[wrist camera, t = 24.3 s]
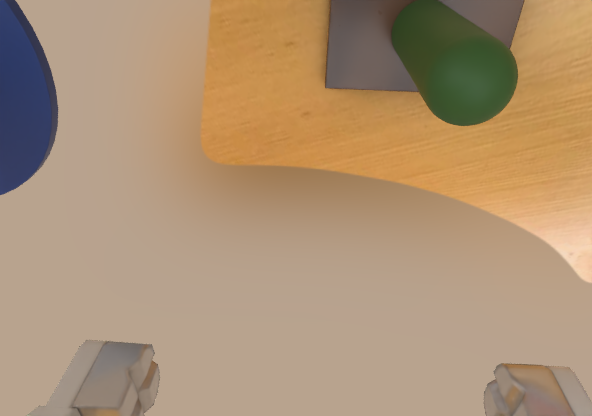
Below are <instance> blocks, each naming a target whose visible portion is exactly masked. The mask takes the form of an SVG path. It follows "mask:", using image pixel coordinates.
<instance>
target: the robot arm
mask: <svg viewBox="0 0 592 416" xmlns="http://www.w3.org/2000/svg"><path fill="white" fill-rule="evenodd" d="M154 354H155V353H154V350H153V346H152V344H138V343H123V342H110V341H97V340H86V341H85V342H84V343H83V344H82V345H81V346H80V347H79V349H78V351H77V352H76V354H75V356H74V358H73V359H72V361H71V363H70V365H69V366H68V368H67V370H66V372H65V374H64V375H63V377H62V379H61V380H60V382H59V384H58V386H57V387H56V389H55V391H54V393H53V394H52V396H51V398H50V400H49V401H48V403H47V405H46V406H38V407H37V408H36V409H34V410H33V411H32V412H31V413H29V414H28V415H27V416H144V413H145V412H146V411H147V410H148V409H149V408H151V407H152V406H153V405H154V402H155V399H156V396H157V392H158V387H159V380H160V375H159V368H158V364H156V363H155V362H153V361H152V359H153V356H154ZM494 375H495V378H496V379H495V380H493V381H492V382H490V383H488V385H487V387H486V390H485V392H484V408H485V413H486V416H592V402H591V400H590V399H589V397H588V395H587V393H586V392H585V390H584V388H583V386H582V385H581V383H580V381H579V379H578V378H577V376H576V374H575V373H574V372H573V371H572V370H571V369H570V368H568V367H559V366H543V365H527V364H499V365H498V366H497V367H496V369H495V370H494Z"/></svg>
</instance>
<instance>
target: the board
mask: <svg viewBox="0 0 592 416" xmlns="http://www.w3.org/2000/svg"><path fill="white" fill-rule="evenodd" d="M415 1H417V0H330V14H329V29H328V45H327V61H326V77H325V88H334V89H359V90H384V91H408V92H419V90H418V89H417V87H416V85H415V84H414V82H413V80H412V78H411V77H410V75H409V73H408V72H407V70H406V68H405V66H404V65H403V63H402V61H401V60H400V58H399V56H398V54H397V53H396V51H395V49H394V47H393V44H392V28H393V25H394V22H395V20H396V18H397V16H398V15H399V13H400V12H401V11H402V10H403V9H404V8H405V7H406V6H408V5H409V4H411V3H412V2H415ZM438 1H440V2H441V3H443V4H445V5H446V6H448V7H449V8H451V9H452V10H454V11H455V12H457V13H458V14H460V15H461V16H463V17H465V18H466V19H468V20H469V21H471V22H472V23H474V24H475V25H477V26H478V27H480V28H482V29H483V30H485V31H486V32H488V33H489V34H491V35H492V36H494V37H495V38H497V39H498V40H500V41H502V42H503V43H504V44H505V45H506V46H507V47H508V48H509V49H510V46H511V43H512V40H513V37H514V33H515V30H516V27H517V23H518V20H519V17H520V13H521V10H522V7H523V4H524V0H438Z"/></svg>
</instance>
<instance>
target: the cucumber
mask: <svg viewBox="0 0 592 416" xmlns="http://www.w3.org/2000/svg"><path fill="white" fill-rule="evenodd" d="M392 44H393V47H394V49H395V51H396V53H397V54H398V56H399V58H400V60H401V61H402V63H403V65H404V66H405V68H406V70H407V72H408V73H409V75H410V77H411V78H412V80H413V82H414V84H415V85H416V87H417V89H418V90H419V92H420V94H421V96H422V97H423V99H424V101H425V102H426V104H427V106H428V107H429V109H430V110H431V111H432V112H433V113H434V115H436V116H437V117H438V118H440V119H441V120H443V121H445V122H447V123H450V124H453V125H459V126H470V125H476V124H480V123H483V122H485V121H487V120H489V119H491V118H493V117H494V116H496V115H497V114H498V113H500V112H501V111H502V110H503V109H504V108H505V106H506V105H507V104H508V103H509V101H510V100H511V98H512V96H513V94H514V91H515V89H516V85H517V80H518V69H517V64H516V60H515V58H514V56H513V54H512V52H511V51H510V49H509V48H508V47H507V46H506V45H505V44H504V43H503V42H502V41H500V40H498V39H497V38H495V37H494V36H492V35H491V34H489V33H488V32H486V31H485V30H483V29H482V28H480V27H478V26H477V25H475V24H474V23H472V22H471V21H469V20H468V19H466V18H465V17H463V16H461V15H460V14H458V13H457V12H455V11H454V10H452V9H451V8H449V7H448V6H446V5H445V4H443V3H441V2H440V1H438V0H417V1H415V2H412V3H411V4H409V5H408V6H406V7H405V8H404V9H403V10H402V11H401V12H400V13H399V15H398V16H397V18H396V20H395V22H394V25H393V28H392Z"/></svg>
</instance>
